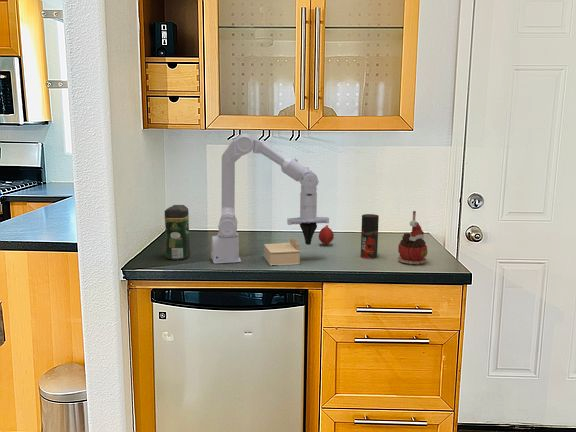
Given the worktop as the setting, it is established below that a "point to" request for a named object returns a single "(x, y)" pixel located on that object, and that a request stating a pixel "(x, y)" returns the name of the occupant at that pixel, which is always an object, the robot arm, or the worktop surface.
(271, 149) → the robot arm
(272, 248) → the lid
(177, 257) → the coffee jar
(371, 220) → the deodorant
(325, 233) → the onion
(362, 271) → the worktop surface
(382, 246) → the worktop surface
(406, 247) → the cake
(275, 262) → the base
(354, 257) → the worktop surface
